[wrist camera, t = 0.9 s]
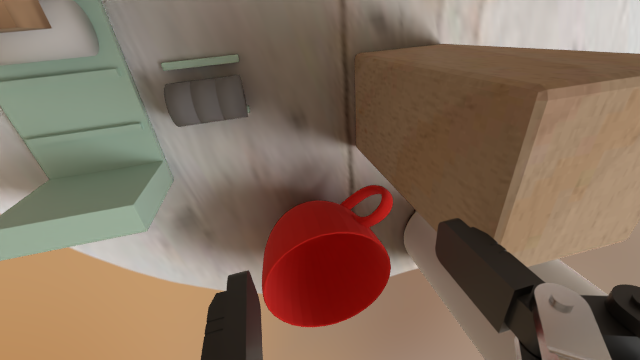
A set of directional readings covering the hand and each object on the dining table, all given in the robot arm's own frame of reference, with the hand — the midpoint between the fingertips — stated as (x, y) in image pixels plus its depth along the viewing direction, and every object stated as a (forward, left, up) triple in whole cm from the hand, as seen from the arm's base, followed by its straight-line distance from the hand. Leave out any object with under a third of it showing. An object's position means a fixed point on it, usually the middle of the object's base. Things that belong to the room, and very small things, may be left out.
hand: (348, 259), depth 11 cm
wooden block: (-1, +12, -20) cm, 24 cm away
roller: (-4, -7, -20) cm, 21 cm away
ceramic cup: (+12, +2, -20) cm, 24 cm away
